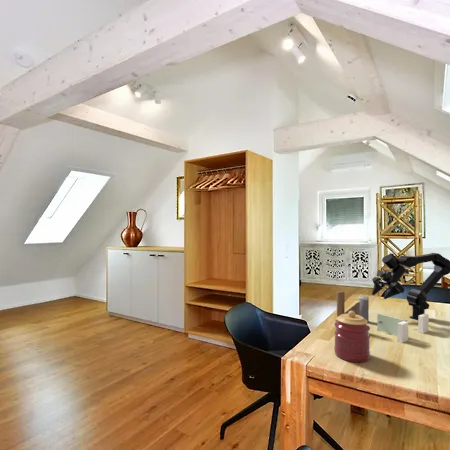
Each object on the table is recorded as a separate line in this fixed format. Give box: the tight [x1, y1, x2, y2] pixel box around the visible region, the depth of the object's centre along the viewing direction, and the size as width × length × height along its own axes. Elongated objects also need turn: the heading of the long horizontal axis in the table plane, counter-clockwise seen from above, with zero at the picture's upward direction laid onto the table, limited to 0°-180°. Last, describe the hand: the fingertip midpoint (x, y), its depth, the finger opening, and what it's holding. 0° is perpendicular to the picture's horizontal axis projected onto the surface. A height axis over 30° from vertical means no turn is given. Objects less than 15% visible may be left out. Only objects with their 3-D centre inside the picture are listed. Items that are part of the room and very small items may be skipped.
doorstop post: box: [358, 295, 370, 323], centre depth 162 cm, size 4×4×13 cm
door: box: [376, 313, 408, 337], centre depth 143 cm, size 14×3×8 cm, turn 33°
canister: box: [333, 311, 371, 363], centre depth 120 cm, size 13×13×18 cm
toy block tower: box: [334, 290, 360, 328], centre depth 150 cm, size 4×11×18 cm, turn 46°
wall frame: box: [397, 313, 430, 344], centre depth 141 cm, size 26×2×8 cm, turn 125°
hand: (378, 296), depth 163 cm, fingers open, 9 cm apart
